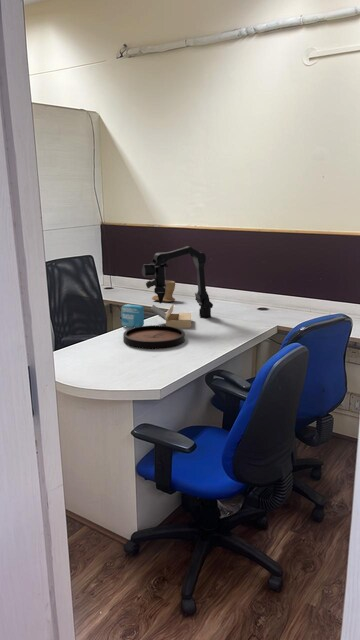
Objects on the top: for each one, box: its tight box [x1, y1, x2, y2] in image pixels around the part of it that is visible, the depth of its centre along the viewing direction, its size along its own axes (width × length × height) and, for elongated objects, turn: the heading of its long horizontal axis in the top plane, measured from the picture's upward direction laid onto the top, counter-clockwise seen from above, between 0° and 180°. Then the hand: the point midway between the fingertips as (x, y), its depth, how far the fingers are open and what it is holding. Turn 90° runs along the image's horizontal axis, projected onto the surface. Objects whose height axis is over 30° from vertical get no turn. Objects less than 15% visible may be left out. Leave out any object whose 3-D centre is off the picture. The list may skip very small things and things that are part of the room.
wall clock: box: [122, 324, 186, 350], centre depth 251 cm, size 31×4×31 cm
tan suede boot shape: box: [151, 279, 176, 303], centre depth 343 cm, size 15×12×15 cm
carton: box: [165, 312, 192, 329], centre depth 282 cm, size 14×18×5 cm
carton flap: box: [150, 303, 175, 321], centre depth 281 cm, size 7×17×10 cm
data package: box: [120, 303, 145, 328], centre depth 276 cm, size 12×4×12 cm, turn 69°
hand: (160, 301), depth 285 cm, fingers open, 9 cm apart
